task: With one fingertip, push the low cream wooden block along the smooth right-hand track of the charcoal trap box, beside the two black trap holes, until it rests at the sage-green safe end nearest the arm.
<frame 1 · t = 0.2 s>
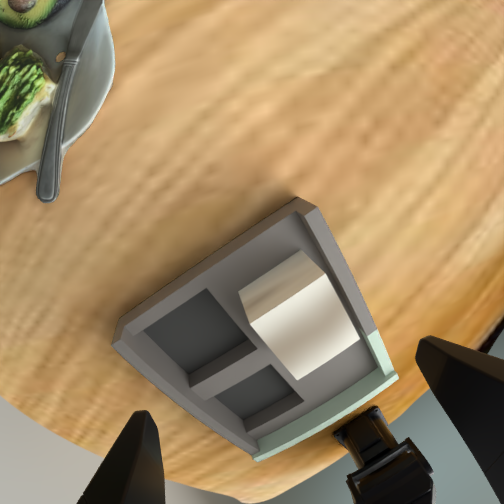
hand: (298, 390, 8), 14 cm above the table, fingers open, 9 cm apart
trap box: (269, 345, 25), on the table
cream block: (290, 301, 22), point 2 cm above the table, touching trap box
salad plate: (18, 62, 14), on the table
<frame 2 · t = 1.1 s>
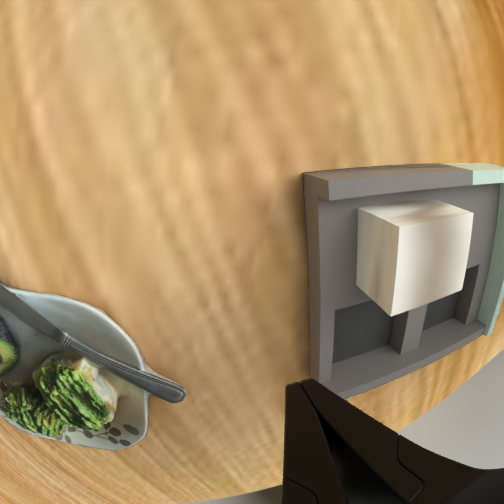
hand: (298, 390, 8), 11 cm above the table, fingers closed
trap box: (416, 265, 22), on the table
cream block: (396, 239, 18), point 2 cm above the table, touching trap box
salad plate: (46, 366, 19), on the table
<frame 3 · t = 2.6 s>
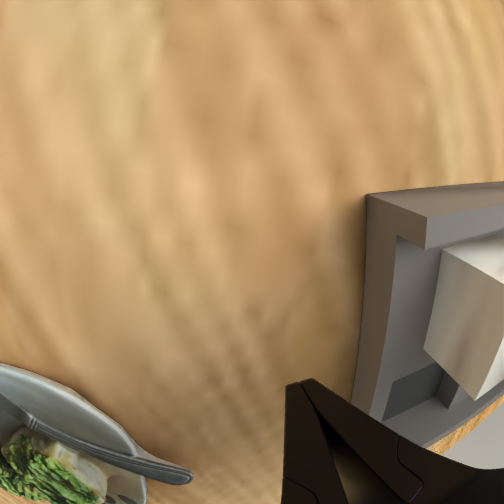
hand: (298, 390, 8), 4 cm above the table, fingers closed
trap box: (477, 306, 15), on the table
cream block: (474, 286, 12), point 2 cm above the table, touching trap box
salad plate: (19, 431, 13), on the table
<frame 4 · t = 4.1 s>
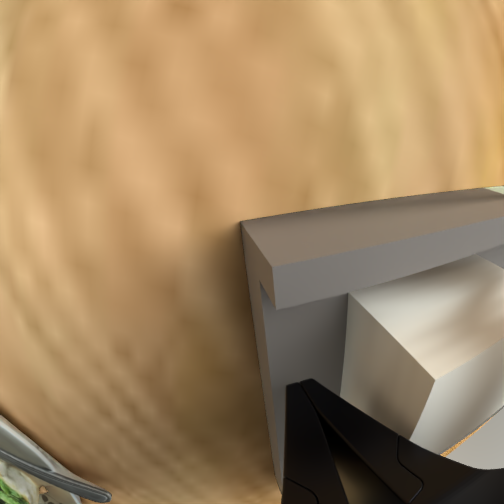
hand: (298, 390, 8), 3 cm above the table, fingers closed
trap box: (435, 341, 14), on the table
cream block: (413, 331, 10), point 2 cm above the table, touching gripper, trap box
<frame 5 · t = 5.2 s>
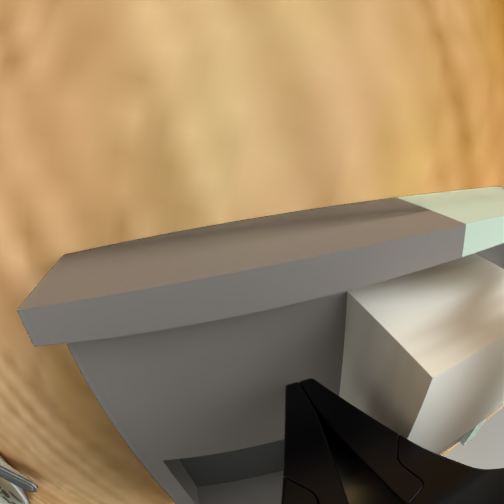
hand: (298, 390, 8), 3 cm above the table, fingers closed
trap box: (343, 377, 13), on the table
cream block: (412, 330, 10), point 2 cm above the table, touching trap box
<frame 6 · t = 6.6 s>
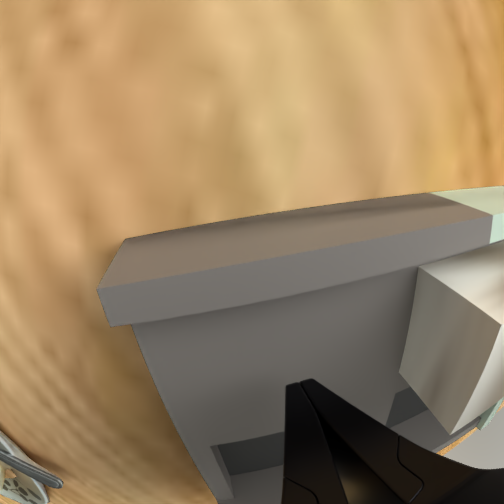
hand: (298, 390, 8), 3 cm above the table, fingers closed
trap box: (377, 360, 14), on the table
cream block: (459, 305, 11), point 2 cm above the table, touching trap box
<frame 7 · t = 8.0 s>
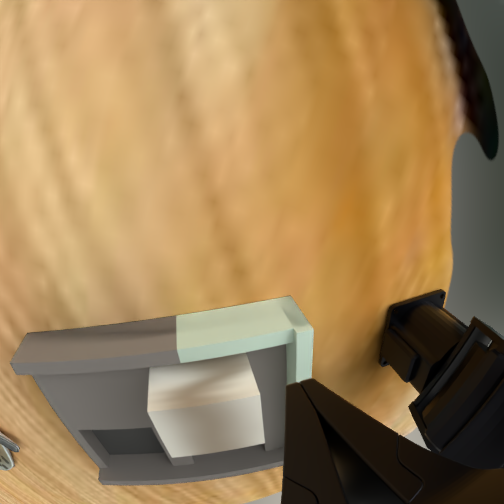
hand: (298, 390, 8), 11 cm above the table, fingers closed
trap box: (174, 402, 21), on the table
cream block: (203, 384, 19), point 2 cm above the table, touching trap box
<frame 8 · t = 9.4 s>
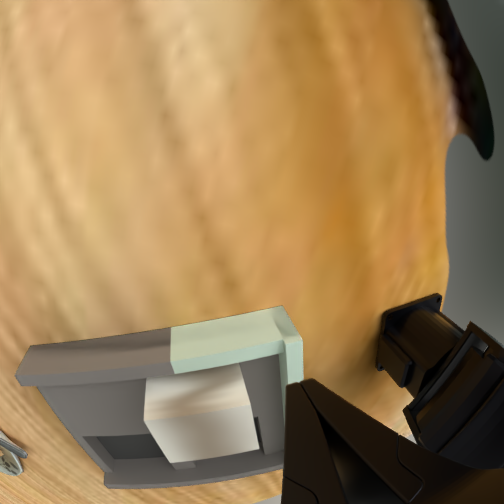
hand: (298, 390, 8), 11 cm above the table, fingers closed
trap box: (173, 408, 22), on the table
cream block: (199, 393, 19), point 2 cm above the table, touching trap box
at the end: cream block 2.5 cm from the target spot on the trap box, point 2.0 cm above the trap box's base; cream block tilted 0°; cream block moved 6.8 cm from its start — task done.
